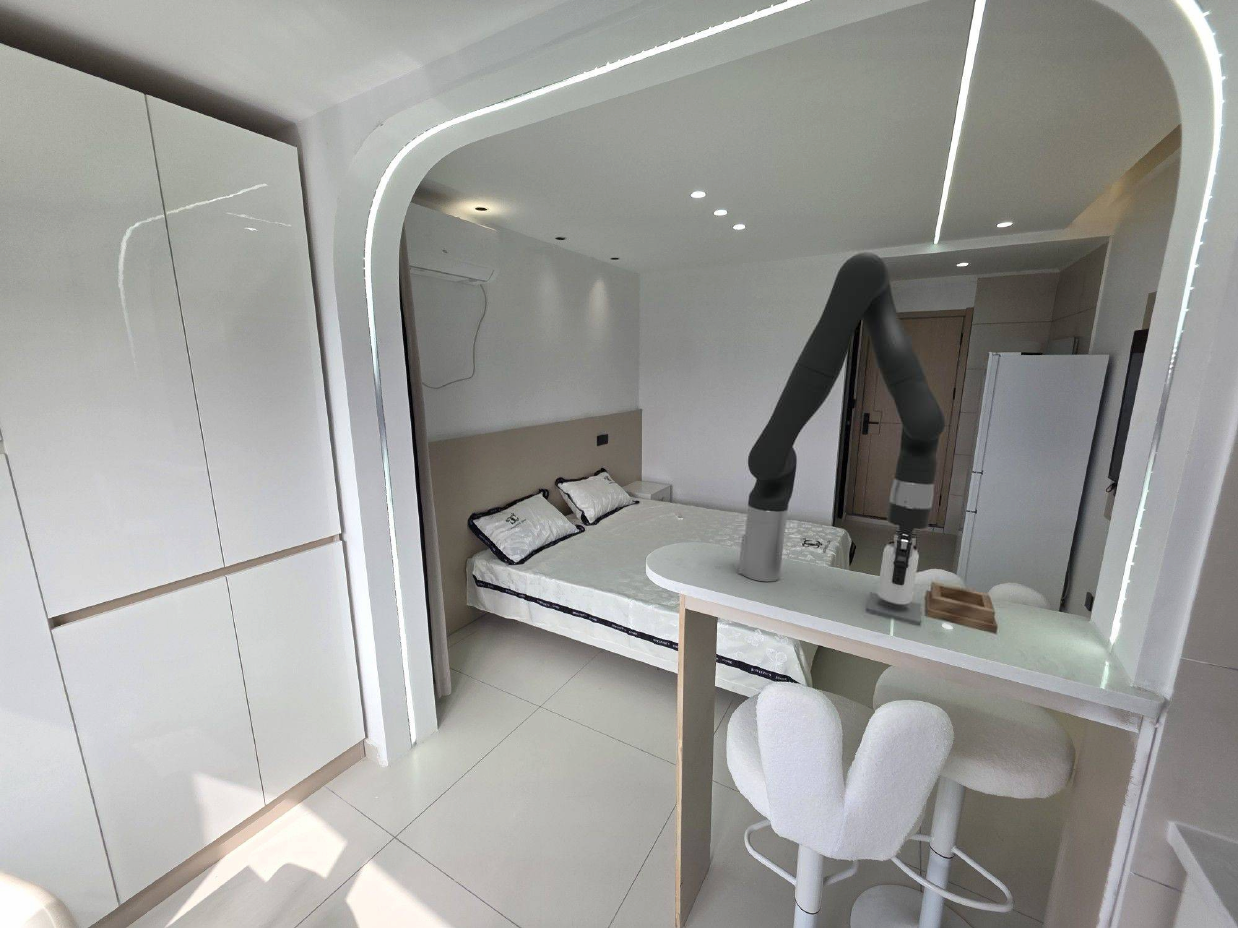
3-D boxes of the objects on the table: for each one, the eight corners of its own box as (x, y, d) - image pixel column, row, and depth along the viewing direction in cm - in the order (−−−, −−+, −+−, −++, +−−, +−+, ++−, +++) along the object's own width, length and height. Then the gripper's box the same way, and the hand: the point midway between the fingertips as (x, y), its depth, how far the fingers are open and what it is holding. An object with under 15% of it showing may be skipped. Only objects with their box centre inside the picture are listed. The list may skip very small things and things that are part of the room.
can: (891, 606, 102) (900, 550, 100) (870, 592, 108) (878, 540, 106) (918, 605, 104) (927, 550, 101) (895, 591, 110) (904, 540, 108)
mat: (865, 611, 105) (865, 607, 104) (869, 595, 113) (870, 592, 113) (920, 625, 100) (920, 621, 99) (920, 607, 108) (920, 604, 108)
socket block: (925, 615, 104) (928, 598, 103) (925, 596, 114) (928, 579, 114) (996, 633, 98) (1000, 614, 97) (989, 611, 108) (992, 593, 108)
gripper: (891, 493, 110) (880, 565, 113) (888, 505, 98) (875, 585, 101) (931, 499, 106) (918, 573, 109) (932, 512, 94) (918, 595, 97)
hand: (898, 578), depth 105 cm, fingers closed on can, 6 cm apart
